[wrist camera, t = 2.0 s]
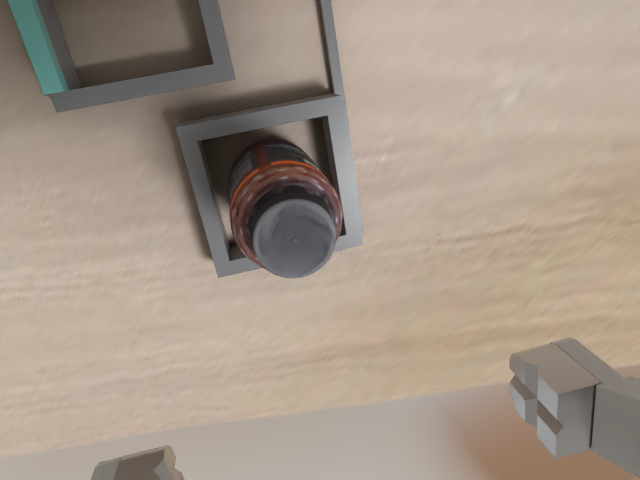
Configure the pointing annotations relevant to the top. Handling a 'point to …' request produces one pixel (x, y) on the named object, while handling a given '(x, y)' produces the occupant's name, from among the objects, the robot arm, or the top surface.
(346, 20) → the top surface
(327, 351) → the top surface
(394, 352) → the top surface
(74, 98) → the double square frame
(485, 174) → the top surface
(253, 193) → the supplement bottle
